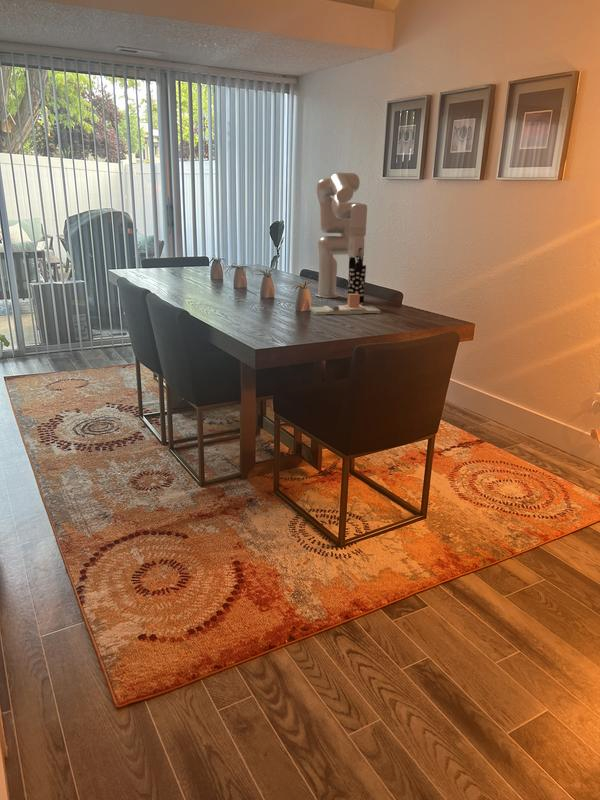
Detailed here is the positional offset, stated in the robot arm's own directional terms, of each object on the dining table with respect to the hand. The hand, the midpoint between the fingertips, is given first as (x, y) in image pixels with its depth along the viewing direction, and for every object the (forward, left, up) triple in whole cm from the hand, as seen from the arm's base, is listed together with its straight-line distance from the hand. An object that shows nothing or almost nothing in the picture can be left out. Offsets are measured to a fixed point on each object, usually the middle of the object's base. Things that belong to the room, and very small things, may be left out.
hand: (355, 269), depth 282 cm
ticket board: (0, -4, -20) cm, 20 cm away
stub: (0, +1, -18) cm, 18 cm away
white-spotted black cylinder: (-14, +6, -20) cm, 25 cm away
